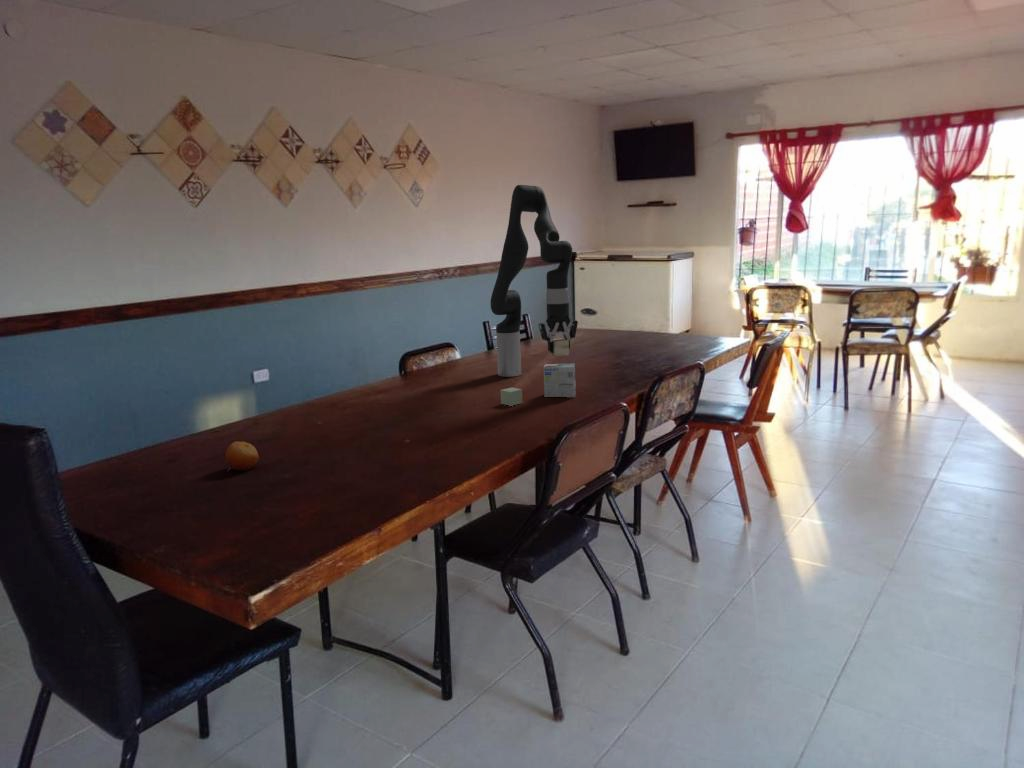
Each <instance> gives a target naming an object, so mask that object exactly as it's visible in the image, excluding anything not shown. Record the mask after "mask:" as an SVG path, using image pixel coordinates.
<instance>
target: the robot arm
mask: <svg viewBox="0 0 1024 768" xmlns="http://www.w3.org/2000/svg"><path fill="white" fill-rule="evenodd" d="M546 196H547V195H546V194H545V192H544V190H543V189H542V187H540V186H537V185H529V184H528V185H527V184H526V185H525V184H517V185H515V187H514V189H513V192H512V196H511V202H510V209H509V210H510V211H509V218H508V225H507V231H506V234H505V238H504V244H503V247H502V251H501V257H500V263H499V264H500V265H499V268H498V273H497V277H496V281H495V283H494V286H493V290H492V293H491V297H490V309H491V312H492V313H493V314H494V316H495V315H496V316H505V318H503V320H502V321H500V322H499V323H497V324H496V326H495V335H496V338H495V339H496V354H497V355H496V357H497V360H496V362H497V375H498V376H499V377H502V378H503V377H506V378H507V377H508V378H510V377H511V378H513V377H518V376H521V375H522V360H521V359H522V357H521V355H522V354H521V332H520V330H521V323H522V301H521V295H520V294H519V292H518V291H517V290H516V289H509V288H510V286H511V284H512V282H513V280H514V279H515V278H516V277H517V275H518V274H520V272H521V270H522V269H523V268H524V266H525V264H526V261H527V258H528V257H527V256H528V252H529V243H528V240H527V237H526V235H525V232H524V229H523V227H522V223H521V222H522V221H521V219H522V213H523V212H524V213H525V212H527V213H536V214H537V217H536V218H535V220H534V224H533V225H534V226H533V230H534V232H535V235H536V238H537V240H538V242H539V247H540V251H539V252H540V258H541V260H542V261H544V262H545V263H547V264H554V263H555V264H557V263H559V265H558V266H557V268H555V269H551V270H549V271H547V273H546V293H545V294H546V295H545V297H546V298H545V299H546V300H545V301H546V320H545V322H542V323H541V322H539V323H538V328H539V332H540V336H541V339H542V340H543V341H546V342H547V350H548V352H550V353H554V344H553V339H555V337H556V334H557V333H560V332H561V335H562V336H563V339H566V340H569V350H570V349H571V340H572V339H575V337H576V334H577V328H578V323H579V322H578V320H575V319H571V318H570V297H569V288H568V287H569V282H568V281H569V280H568V276H569V270H570V264H571V261H572V257H573V247H572V245H571V244H572V243H570V242H569V241H568V240H560V233H559V231H558V229H557V227H556V225H555V223H554V221H553V219H552V216H551V212H550V208H549V204H548V201H547V197H546ZM569 326H570V327H569ZM568 327H569V329H568ZM547 328H548V333H547ZM550 353H549V354H550Z"/></svg>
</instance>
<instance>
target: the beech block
mask: <svg viewBox="0 0 1024 768" xmlns="http://www.w3.org/2000/svg"><path fill="white" fill-rule="evenodd" d="M553 344H554V353H550V352H549V351H548V352H549V355H550V356H554V357H561V356H569V355H570V349H569V340H566V339H564V337H563V338H561V337H560V338H554V339H553Z"/></svg>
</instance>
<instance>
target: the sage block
mask: <svg viewBox="0 0 1024 768" xmlns="http://www.w3.org/2000/svg"><path fill="white" fill-rule="evenodd" d="M520 403H522V404H523V390H522V388H516V387H508V388H504V389H500V405H501V404H505V405H509V406H508V407H510V406H512V407H514V406H513V405H516V404H520ZM505 405H504V406H505ZM520 405H521V404H520ZM516 406H517V405H516Z"/></svg>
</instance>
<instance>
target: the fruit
mask: <svg viewBox="0 0 1024 768" xmlns="http://www.w3.org/2000/svg"><path fill="white" fill-rule="evenodd" d="M224 457H225V461H226V464H227V466H228V468H227V470H226V471H227V472H229V471H230V470H234V471H242V472H243V471H245V472H246V471H249V470H251V468H252V467H254V466H255V465H256V463H257V462H258V461H259V459H260V457H259V453H258V451H257V449H256V447H255V446H254V445H252V444H251V443H248V442H245V441H233V442H232V443H230V445H228V447H227V448H226V450H225V453H224Z"/></svg>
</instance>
